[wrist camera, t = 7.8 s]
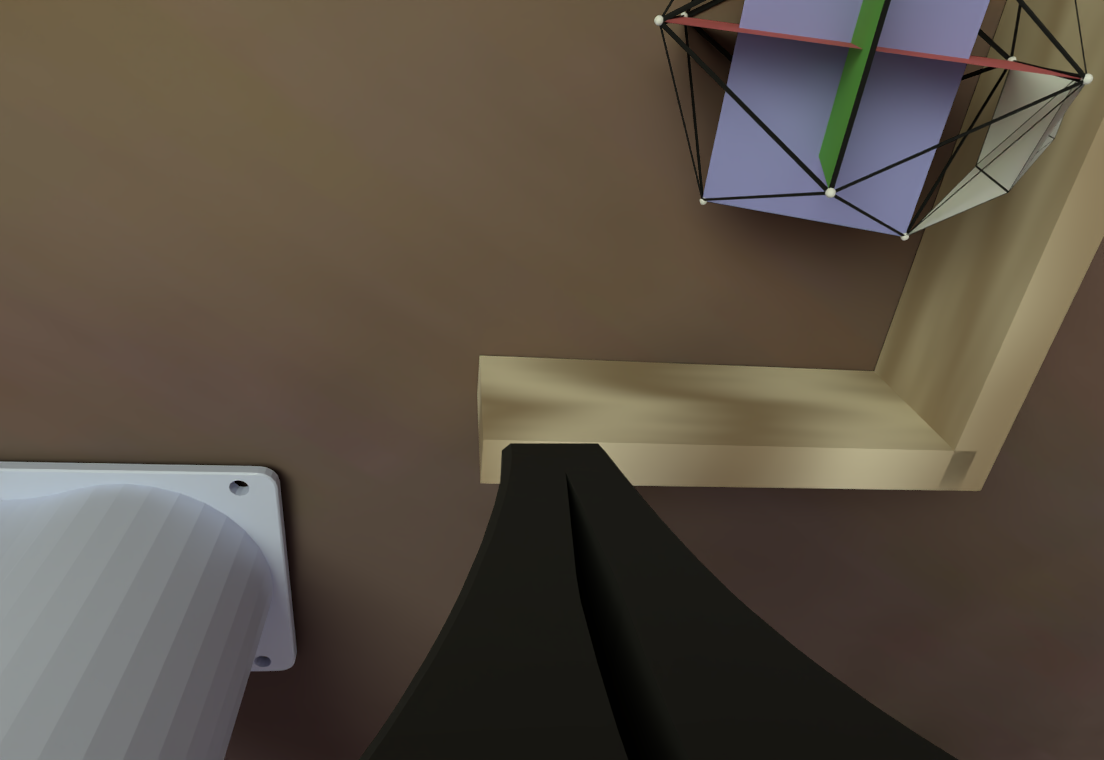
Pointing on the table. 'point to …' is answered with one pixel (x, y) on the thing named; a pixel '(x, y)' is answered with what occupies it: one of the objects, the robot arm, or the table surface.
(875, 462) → the beige piece
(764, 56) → the geometric puzzle
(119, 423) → the table surface
